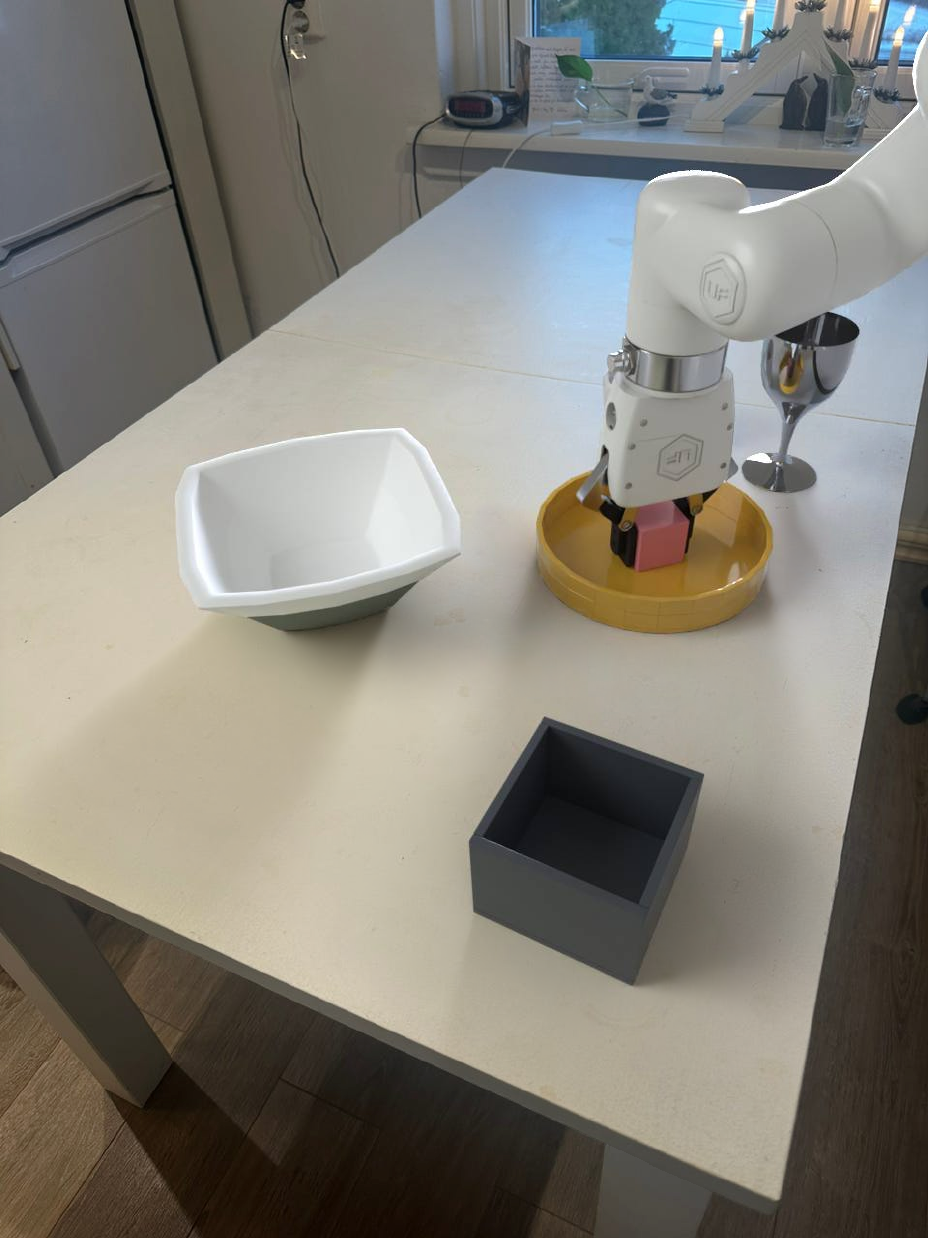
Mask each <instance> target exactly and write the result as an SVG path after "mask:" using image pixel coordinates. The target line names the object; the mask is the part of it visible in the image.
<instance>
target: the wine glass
mask: <svg viewBox="0 0 928 1238" xmlns="http://www.w3.org/2000/svg"><path fill="white" fill-rule="evenodd" d="M860 333H861V329H860V327H859V326H858V324H857V323H856V322H854V321H853V320H852V319H850V318H848V317H846V316H844V315H842V314H838V313H835V312H832V311H828V312H826V313H823V314H821V315H819V316H816V317H814V318H812V319H809V320H808V321H806V322H804V323H802V324H800V325H797V326H795V327H793V328H790V329H788V330H786V331H783V332H781V333H779V334H776V335H774V336H772V337H769V338H766V339H763V340H761V347H760V359H759V361H760V362H759V366H760V367H759V368H760V369H759V370H760V378H761V383H762V387H763V389H764V391H765V392H766V394H767V396H768V397H769V399H771V401H772V403H773V404H774V405H775V406H776V408H777V410H778V412H779V415H780V417H781V422H782V424H781V425H782V427H781V438H780V443H779V444H780V445H779V449H778V452H763V453H758V454H755V455H752V456H750V457H748V458H747V459H746V460H744V461H743V462H742V464H741V467H740V469H741V474H742V476H743V477H744V478H745V479H746V481H748V482H749V483H750V484H752V485H753V486H756V487H758V488H760V489H763V490H765V491H766V490H767V491H770V492H776V493H795V492H800V491H803V490H805V489H808V488H810V487H812V485H813V484H814V483H815V481H816V480H817V479H816V477H817V475H816V471H815V469H814V468H813V467H812V465H810V464H809V463H808V462H807V461H806V460H803V459H802V458H799V457H797V456H794V455H790V454H788V450H789V446H790V443H791V440H792V437H793V436H794V433H795V430H796V427H797V426H798V423H800V421H801V420H802V418H804V416H806V415H807V414H808V413H810V412H811V411H812V410H815V408H817V407H819V406H820V405H822V404H823V403H825V402H826V401H827V400H829V399H830V398H831V397H833V395H835V393H836V392H837V391H838V389H839V388H840V386H841V384H842V382H843V380H844V379H845V377H846V375H847V372H848V371H849V368H850V366H851V364H852V361H853V358H854V356H855V352H856V349H857V346H858V342H859V338H860Z"/></svg>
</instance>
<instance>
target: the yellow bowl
mask: <svg viewBox="0 0 928 1238" xmlns="http://www.w3.org/2000/svg"><path fill="white" fill-rule="evenodd" d="M593 470H594V469H591V470H589V471H585V472H584V473H580V474H579V475H575V476H573V477H570V478H569V479H568V480H566V481H565V482H564V483H562V484H561V485H559V486H558V487H556V488H555V489H554V490H552V492H551V493H550V494H549V495H548V497H546V499H545V501H544V502H542V504H541V506H540V508H539V512H538V515H537V518H536V522H535V553H536V565H537V568H538V572H539V574H540V577H541V578H542V580H543V582H544V584H545V585H546V586H547V588H548V589H549V591H551V593H552V594H553V595H554V596H555V597H556V598H557V599H558V600H560V601H561V602H562V603H563V604H565V606H567V607H568V608H570V609H572V610H573V611H575V612H576V613H578V614H580V615H582V616H584V617H586V618H589V619H590V620H593V621H595V622H598V623H601V624H603V625H606V626H609V627H613V628H617V629H621V630H626V631H631V632H637V633H648V634H676V633H686V632H692V631H698V630H702V629H706V628H709V627H713V626H716V625H719V624H721V623H724V622H726V621H728V620H730V619H731V618H733V617H734V616H737V615H738V614H740V613H741V612H742V611H744V610H745V609H746V608H747V607H749V605H750V604H752V602H753V601H754V600H755V599H756V597H758V594H759V593H760V591H761V589H762V587H763V584H764V580H765V579H766V576H767V573H768V569H769V565H770V561H771V557H772V552H773V549H774V540H773V539H774V538H773V537H774V535H773V527H772V525H771V523H770V521H769V519H768V517H767V515H766V514H765V511H764V510H763V509H762V507H760V505H758V504H757V503H756V502H755V501H754V500H753V498H752V497H751V496H750V495H748V494H747V493H746V492H744V491H743V490H741V489H740V488H738V487H736V486H735V485H733V484H732V483H730V482H728V481H726V482H724V483H723V484H722V485H721V486H719V487H718V489H717V491H716V492H715V493H714V494H713V495H712V496H711V497H710V498H709V499H708V500H707V501H706V502H705V503H704V504H703V511H702V512H701V513H700V514H698V515H696V516H695V521H694V527H693V533H692V537H691V538H690V541H689V547H688V552H687V553H686V554H684V559H683V562H679V563H675V564H671V565H666V566H662V567H658V568H654V569H649V570H645V571H641V572H637V571H636V569H635V568H634V567H633V566H630V567H626V566H625V565H624V563H623V562H622V560H621V559H620V558H619V556H618V555H615V554H614V553H613V552H612V550H611V547H610V536H611V525H612V522H611V521H610V520H609V519H607V518H606V517H604V516H603V515H602V514H601V513H599V512H595V511H593V510H591V509H589V508H586V507H584V506H583V505H582V504H581V503H580V501H579V500H578V498H577V497H576V494H577V492H578V490H579V489H580V488H581V486H582V485H583V484H584V482H585V481H586V479H587V478H588V477H589V475H590V474H591V473H592V471H593ZM602 494H605V495H606V496H608V497H609V498H610V497H611V495H610V490H609V484H608V486H607V487H606V488H605V490H604V491H603V492H602Z"/></svg>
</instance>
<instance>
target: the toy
mask: <svg viewBox="0 0 928 1238" xmlns="http://www.w3.org/2000/svg"><path fill="white" fill-rule="evenodd" d="M633 525H634V526H635V527H636V529H637V531H638V535H637V543H636V552H635V561H634V564H633V567H634V568H635V569H636V571H637V572H641V571H645V570H649V569H654V568H658V567H662V566H666V565H671V564H675V563H679V562H683V559H684V552H685V546H686V540H687V534H688V527H689V520H688V519H687V518H686V517H685V515H684V514H683V513H682V512H681V511H680V510H679V508H678V507H677V506H676V505H675V504H674V503H673V501H672V500H669V501H664V502H660V503H655V504H650V505H645V506H641V507H639V509H638V512H637V515H636V518H635V521H634V524H633Z"/></svg>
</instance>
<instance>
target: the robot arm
mask: <svg viewBox="0 0 928 1238" xmlns="http://www.w3.org/2000/svg"><path fill="white" fill-rule="evenodd" d="M916 49H917V50H916V53H915V58H914V63H913V69H912V79H913V87H914V92H915V93H914V94H915V98H916V101H917V104H916V105H915V107H914V108H913V109H912V111H911V112H910V113H909V114H908V115H907V116H906V117H905V118H904V119H902V121H901V122H900V123H899V124H898V125H897V126H896V127H895V128H894V129H893V130H892V131H891V132H890V133H888V134H887V136H885V137H883V139H882V140H881V141H879V142H878V143H877V144H876V145H875V146H874V147H873V148H871V150H869V151H868V152H867V153H866V154H864V155H863V156H862V157H861V158H860V159H858V160H857V161H856V162H855V163H854V164H853V165H852V166H851V167H849V168H848V169H846V171H844V172H843V173H842V174H840V175H839V176H838V177H835V178H834V179H833V180H832V181H830V182H829V183H826V184H824V185H820V186H817V187H814V188H812V189H807V190H805V191H802V192H799V193H797V194H793V195H791V196H788V197H785V198H782V199H779V200H776V201H773V202H769V203H765V204H760V205H755V206H752V200H751V196H750V195H751V194H750V192H749V190H748V188H747V187H746V185H745V184H743V183H742V182H741V181H740V180H739V179H737V178H735V177H732V176H728V175H727V174H723V173H719V172H712V171H705V170H704V171H703V170H702V171H701V170H690V171H689V170H685V171H677V172H671V173H667V174H663V175H660V176H658V177H656V178H654V179H652V180H651V181H649V182H648V183H647V184H646V185H645V186H644V187H643V188H642V190H641V191H640V194H639V196H638V198H637V201H636V207H635V215H634V224H633V225H634V226H633V237H632V238H633V239H632V251H631V261H630V273H629V285H628V286H629V287H628V295H627V296H628V297H627V310H626V321H625V332H624V336H622V339H621V340H622V341H621V348H620V350H618V351H616V352H615V353H609V354H608V356H607V357H606V365H607V370H609V371H610V372H611V373H613V372H617V373H615V376H614V379H613V382H612V385H611V388H610V391H609V395H608V398H607V402H606V406H605V410H604V409H603V415H602V419H601V426H600V430H599V431H600V432H599V437H598V446H597V452H596V453H597V454H596V466H595V467H594V468H593V469H592V470H593V471H592V473H591V474H590V475H589V477H588V478H587V479H586V481H585V482H584V484H583V485H582V486H581V488H580V489H579V490H578V492H577V494H576V497H577V498H578V500H579V501H580V503H581V504H582V505H583V506H584V507H586V508H589V509H591V510H593V511H595V512H599V513H601V514H602V515H603V516H604V517H606V518H607V519H609V520H610V521H611V522H612V525H611V536H610V547H611V550H612V552H613V553H614V554H615V555H618V556H619V558H620V559H621V560H622V562H623V563H624V565H625V566H626V567H630V566H633V564H634V561H635V552H636V543H637V535H638V531H637V529H636V527H635V526H634V525H633V524H634V521H635V518H636V515H637V512H638V509H639V507H641V506H645V505H650V504H655V503H660V502H664V501H669V500H672V501H673V503H674V504H675V505H676V506H677V507H678V508H679V510H680V511H681V512H682V513H683V514H684V515H685V517H686V518H687V519H688V520H689V527H688V534H687V540H686V546H685V552H684V554H686V553H687V552H688V547H689V541H690V538H691V537H692V533H693V527H694V521H695V516H696V515H698V514H700V513H701V512H702V511H703V504H704V503H705V502H706V501H707V500H708V499H709V498H710V497H711V496H712V495H713V494H714V493H715V492H716V491H717V489H718V487H719V486H721V485H722V484H723V483H724V482H728V480H730V479H731V478H732V477H733V476H734V475H736V474H737V473H738V471H739V466H738V464H737V462H736V461H735V460H734V458H733V457H732V452H733V444H734V443H733V442H734V432H735V415H736V414H735V411H736V410H735V409H736V406H735V405H736V402H735V401H736V400H735V383H734V374H733V371H732V370H730V369H729V368H728V367H727V366H726V363H727V356H728V350H729V344H730V340H732V341H736V342H740V343H753V342H759V341H762V340H763V339H766V338H769V337H772V336H774V335H776V334H779V333H781V332H783V331H786V330H788V329H790V328H793V327H795V326H797V325H800V324H802V323H804V322H806V321H808V320H809V319H812V318H814V317H816V316H819V315H821V314H823V313H826V312H831V311H832V310H833V311H834V310H835V309H837V308H840V307H843V306H845V305H848V304H850V303H852V302H854V301H856V300H859V299H861V298H863V297H865V296H866V295H869V294H870V293H872V292H873V291H875V290H877V289H879V288H880V287H882V286H883V285H885V284H888V282H890V281H891V280H893V279H895V278H896V277H897V276H898V275H900V274H901V273H903V272H905V271H906V270H907V269H909V268H910V267H912V266H913V265H915V264H916V263H918V262H919V261H920V260H922V259H923V258H925V257H926V256H928V30H927V31H926V32H925V33H924V36H923V37H922V39H921V41H920V43H919V45H918V48H916ZM608 484H609V490H610V495H611V497H610V498H609V497H608V496H606V495H605V494H602V492H603V491H604V490H605V488H606V487H607V486H608Z"/></svg>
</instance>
